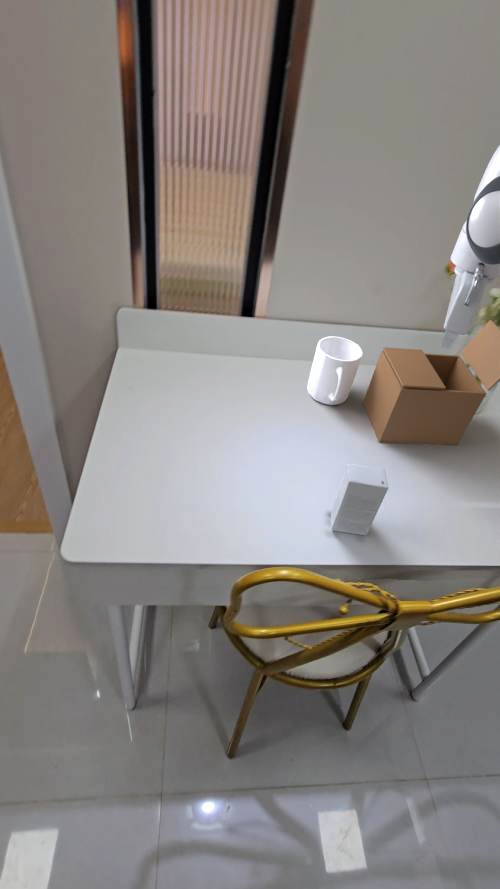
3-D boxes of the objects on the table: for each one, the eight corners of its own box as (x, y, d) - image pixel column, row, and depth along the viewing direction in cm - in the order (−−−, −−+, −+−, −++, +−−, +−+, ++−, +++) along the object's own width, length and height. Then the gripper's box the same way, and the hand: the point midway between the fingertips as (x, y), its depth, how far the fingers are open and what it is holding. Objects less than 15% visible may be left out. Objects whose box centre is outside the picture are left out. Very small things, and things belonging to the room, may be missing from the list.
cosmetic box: (364, 516, 81) (386, 468, 73) (366, 536, 78) (389, 488, 70) (329, 511, 81) (347, 462, 73) (330, 531, 78) (349, 482, 70)
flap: (460, 352, 98) (461, 353, 98) (487, 390, 89) (489, 390, 89) (490, 319, 93) (491, 320, 93) (522, 355, 84) (524, 356, 84)
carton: (434, 406, 108) (460, 352, 98) (456, 445, 98) (488, 390, 89) (362, 402, 105) (382, 347, 96) (379, 442, 96) (403, 385, 86)
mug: (338, 379, 111) (351, 335, 103) (359, 412, 103) (375, 367, 95) (300, 381, 108) (311, 336, 100) (318, 415, 100) (332, 369, 92)
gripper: (503, 283, 65) (461, 367, 74) (505, 241, 80) (470, 316, 89) (456, 271, 67) (421, 355, 76) (467, 232, 81) (436, 307, 90)
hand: (448, 334), depth 82 cm, fingers open, 8 cm apart
